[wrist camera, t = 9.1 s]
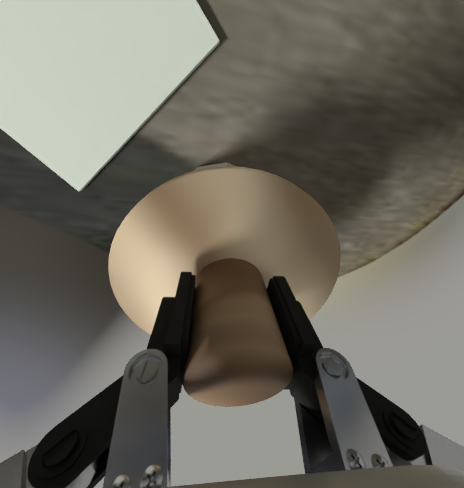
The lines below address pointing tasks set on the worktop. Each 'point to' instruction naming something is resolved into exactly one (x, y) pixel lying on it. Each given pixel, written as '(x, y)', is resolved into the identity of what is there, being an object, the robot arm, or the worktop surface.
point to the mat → (92, 74)
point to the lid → (226, 272)
